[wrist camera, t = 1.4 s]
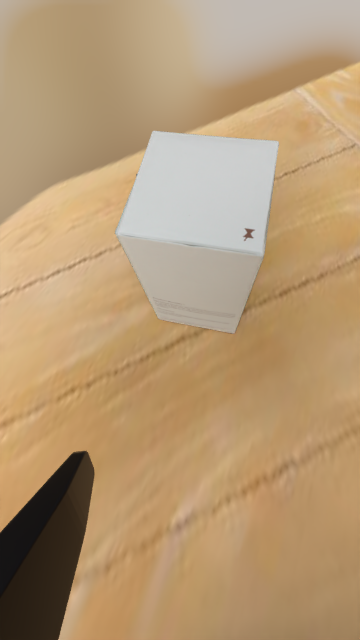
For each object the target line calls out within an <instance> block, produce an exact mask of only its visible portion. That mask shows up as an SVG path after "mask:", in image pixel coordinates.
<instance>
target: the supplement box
mask: <svg viewBox="0 0 360 640" xmlns="http://www.w3.org/2000/svg"><path fill="white" fill-rule="evenodd" d="M278 147H279V142H278V141H271V140H256V139H243V138H231V137H219V136H206V135H194V134H183V133H172V132H160V131H153V132H152V135H151V138H150V141H149V144H148V146H147V149H146V152H145V155H144V157H143V160H142V163H141V166H140V169H139V171H138V174H137V177H136V180H135V183H134V185H133V188H132V190H131V193H130V195H129V198H128V200H127V203H126V205H125V208H124V210H123V213H122V216H121V218H120V221H119V224H118V226H117V228H116V231H115V234H116V236H117V238H118V240H119V242H120V243H121V245H122V247H123V249H124V251H125V253H126V255H127V257H128V259H129V261H130V263H131V265H132V267H133V269H134V271H135V273H136V275H137V277H138V279H139V281H140V283H141V285H142V287H143V289H144V291H145V293H146V295H147V297H148V299H149V301H150V303H151V305H152V307H153V309H154V311H155V313H156V315H157V317H158V319H160V320H165V321H170V322H175V323H180V324H185V325H190V326H196V327H201V328H206V329H212V330H217V331H222V332H227V333H232V334H234V333H235V331H236V329H237V326H238V323H239V321H240V318H241V315H242V313H243V310H244V308H245V305H246V302H247V300H248V297H249V294H250V292H251V289H252V286H253V284H254V281H255V279H256V276H257V273H258V271H259V268H260V265H261V263H262V260H263V258H264V253H265V245H266V238H267V230H268V223H269V216H270V208H271V200H272V192H273V184H274V176H275V168H276V160H277V153H278Z"/></svg>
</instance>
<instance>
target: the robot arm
mask: <svg viewBox="0 0 360 640" xmlns="http://www.w3.org/2000/svg"><path fill="white" fill-rule="evenodd" d="M93 481H94V467H93V464H92V462H91V459H90V456H89V454H88V452H87V451H78V452H74V453H72V454H71V455H70V456H69V457H68V459H67V460H66V461H65V462H64V463H63V464H62V465H61V466H60V467H59V468H58V470H57V471H56V472H55V473H54V474H53V475H52V476H51V477H50V478H49V479H48V481H47V482H46V483H45V484H44V485H43V486H42V487H41V488H40V489H39V490H38V492H37V493H36V494H35V495H34V496H33V497H32V498H31V499H30V500H29V501H28V503H27V504H26V505H25V506H24V507H23V508H22V509H21V510H20V511H19V512H18V514H17V515H16V516H15V517H14V518H13V519H12V520H11V521H10V522H9V523H8V525H7V526H6V527H5V528H4V529H3V530H2V531H1V532H0V640H58V639H59V635H60V631H61V627H62V623H63V619H64V615H65V611H66V607H67V603H68V599H69V595H70V591H71V587H72V583H73V579H74V575H75V572H76V568H77V564H78V560H79V556H80V552H81V548H82V544H83V540H84V535H85V531H86V525H87V519H88V513H89V507H90V500H91V494H92V487H93Z"/></svg>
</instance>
